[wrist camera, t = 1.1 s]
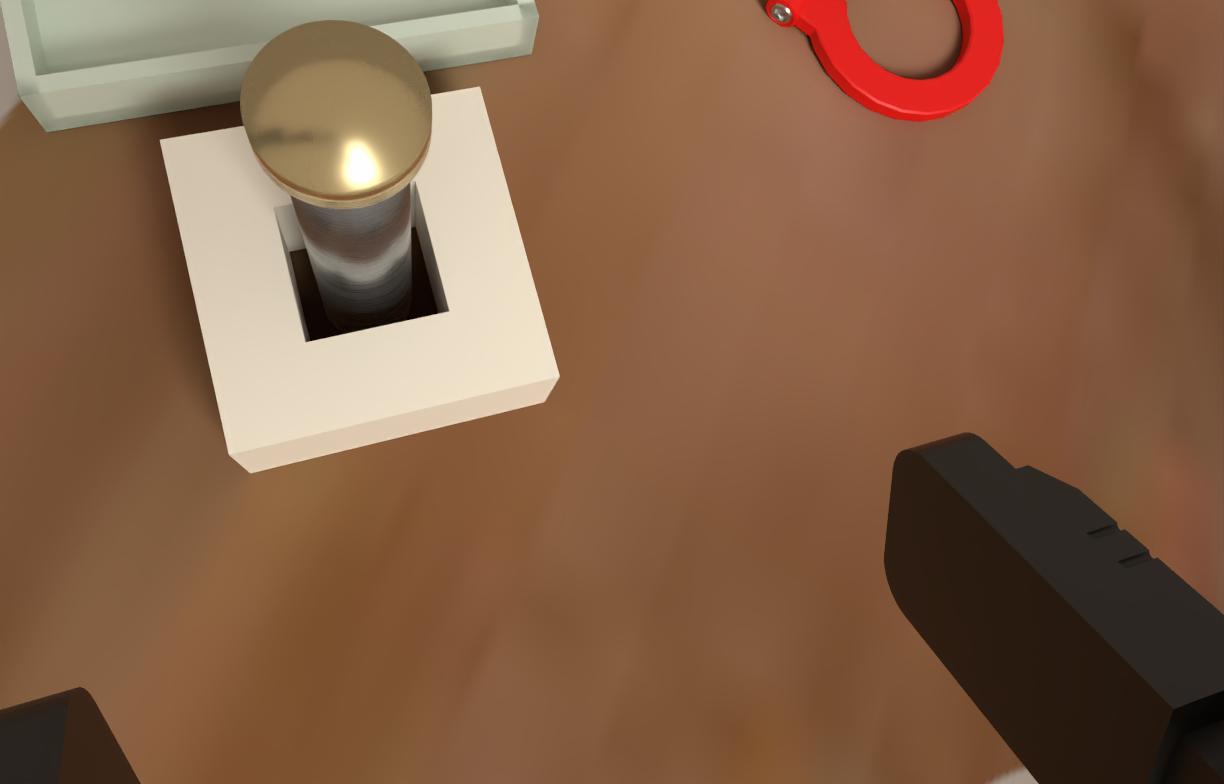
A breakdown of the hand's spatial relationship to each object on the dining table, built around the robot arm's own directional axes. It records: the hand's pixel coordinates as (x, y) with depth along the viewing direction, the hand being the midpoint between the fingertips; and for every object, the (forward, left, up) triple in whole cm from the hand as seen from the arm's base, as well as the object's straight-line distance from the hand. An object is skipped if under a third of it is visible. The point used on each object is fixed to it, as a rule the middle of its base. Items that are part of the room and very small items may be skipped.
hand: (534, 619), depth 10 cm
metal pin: (0, +11, -25) cm, 27 cm away
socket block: (0, +11, -25) cm, 27 cm away
